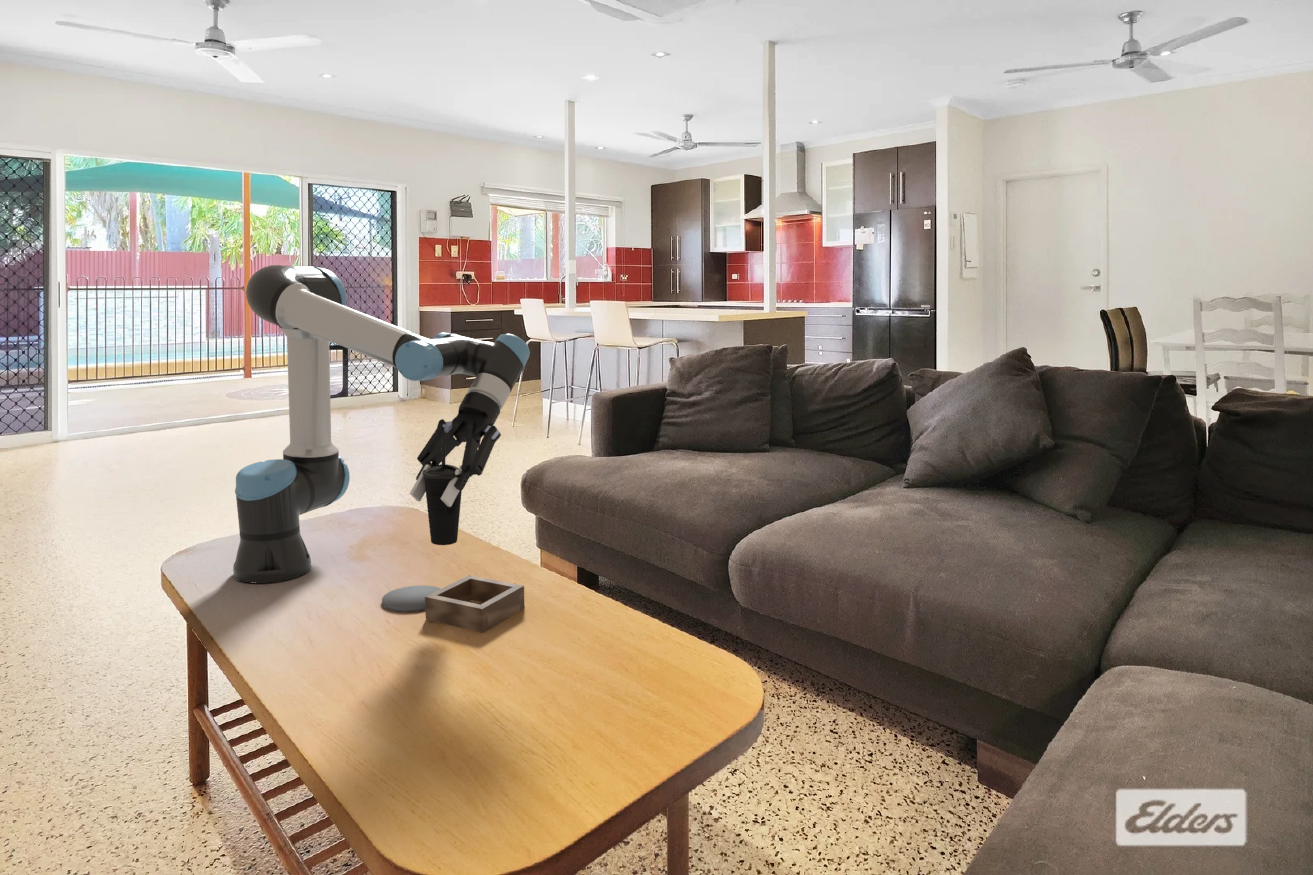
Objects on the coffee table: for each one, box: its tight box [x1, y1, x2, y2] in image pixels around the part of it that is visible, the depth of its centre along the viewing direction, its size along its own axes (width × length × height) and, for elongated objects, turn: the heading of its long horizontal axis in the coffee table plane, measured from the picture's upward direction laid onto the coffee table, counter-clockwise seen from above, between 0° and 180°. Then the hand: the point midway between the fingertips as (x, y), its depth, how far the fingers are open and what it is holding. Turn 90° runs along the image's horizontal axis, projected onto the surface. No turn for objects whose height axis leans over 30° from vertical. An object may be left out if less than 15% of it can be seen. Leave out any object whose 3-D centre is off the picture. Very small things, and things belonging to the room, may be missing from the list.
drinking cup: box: [422, 438, 463, 546], centre depth 155 cm, size 8×8×20 cm
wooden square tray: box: [424, 574, 525, 634], centre depth 156 cm, size 13×13×4 cm
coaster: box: [381, 585, 442, 613], centre depth 162 cm, size 12×12×1 cm
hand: (430, 499), depth 152 cm, fingers closed on drinking cup, 6 cm apart
